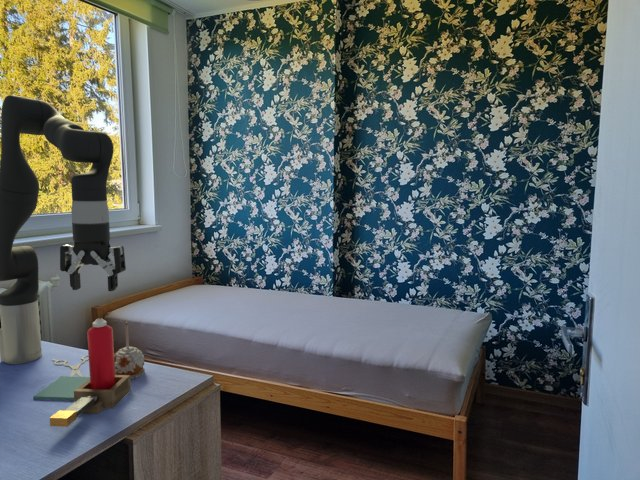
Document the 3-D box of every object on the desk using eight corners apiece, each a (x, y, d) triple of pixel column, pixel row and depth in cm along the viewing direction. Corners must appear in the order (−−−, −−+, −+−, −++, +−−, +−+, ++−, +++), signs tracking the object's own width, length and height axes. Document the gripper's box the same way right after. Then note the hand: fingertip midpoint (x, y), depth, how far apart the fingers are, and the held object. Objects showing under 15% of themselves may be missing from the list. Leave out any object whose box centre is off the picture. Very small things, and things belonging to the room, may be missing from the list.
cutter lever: (83, 400, 102) (83, 392, 101) (98, 400, 101) (98, 393, 101) (50, 426, 90) (49, 417, 90) (67, 426, 90) (67, 418, 90)
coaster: (33, 399, 106) (33, 396, 106) (61, 379, 117) (61, 376, 117) (78, 400, 106) (77, 397, 106) (102, 380, 117) (102, 377, 117)
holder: (68, 412, 100) (67, 396, 100) (95, 389, 112) (94, 374, 111) (107, 414, 100) (106, 397, 100) (130, 390, 112) (130, 375, 111)
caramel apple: (106, 378, 118) (103, 324, 116) (130, 367, 125) (128, 316, 123) (127, 384, 115) (124, 328, 113) (150, 372, 122) (148, 320, 120)
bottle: (115, 391, 111) (111, 314, 108) (117, 400, 106) (112, 320, 103) (90, 396, 108) (86, 317, 106) (91, 406, 104) (86, 323, 101)
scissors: (92, 352, 135) (98, 376, 118) (92, 355, 135) (99, 379, 118) (51, 359, 129) (52, 385, 112) (52, 362, 129) (52, 388, 113)
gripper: (129, 219, 104) (131, 287, 106) (70, 218, 104) (74, 284, 107) (112, 223, 96) (115, 295, 99) (49, 221, 97) (54, 293, 99)
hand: (94, 289), depth 103 cm, fingers open, 8 cm apart
